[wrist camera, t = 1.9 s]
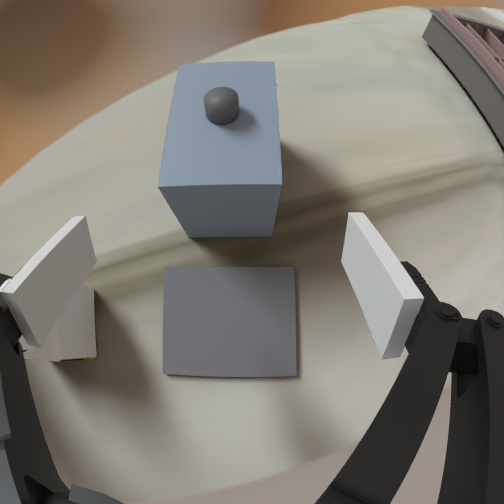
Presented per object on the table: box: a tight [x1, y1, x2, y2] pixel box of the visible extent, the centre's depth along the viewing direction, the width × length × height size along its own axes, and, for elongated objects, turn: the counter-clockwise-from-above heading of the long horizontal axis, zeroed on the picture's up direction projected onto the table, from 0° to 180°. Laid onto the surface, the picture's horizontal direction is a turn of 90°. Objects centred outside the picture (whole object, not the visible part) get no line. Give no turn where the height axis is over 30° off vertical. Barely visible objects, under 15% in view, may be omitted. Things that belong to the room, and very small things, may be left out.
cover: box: [158, 62, 282, 237], centre depth 25 cm, size 8×12×13 cm, turn 0°
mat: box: [163, 267, 296, 377], centre depth 28 cm, size 12×10×1 cm
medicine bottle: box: [0, 273, 97, 362], centre depth 22 cm, size 7×7×12 cm
